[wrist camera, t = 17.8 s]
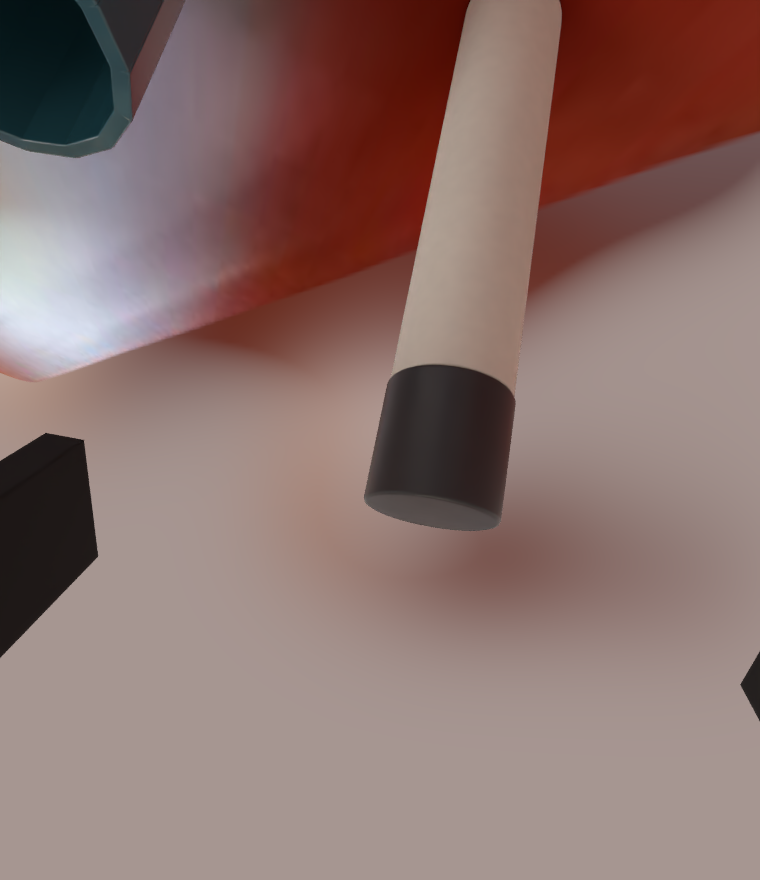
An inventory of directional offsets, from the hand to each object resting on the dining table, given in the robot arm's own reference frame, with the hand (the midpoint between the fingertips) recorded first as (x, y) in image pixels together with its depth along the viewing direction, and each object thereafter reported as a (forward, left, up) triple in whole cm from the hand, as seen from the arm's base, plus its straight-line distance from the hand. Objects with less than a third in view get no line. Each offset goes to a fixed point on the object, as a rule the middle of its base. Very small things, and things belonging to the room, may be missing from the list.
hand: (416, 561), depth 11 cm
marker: (0, -2, -17) cm, 17 cm away
